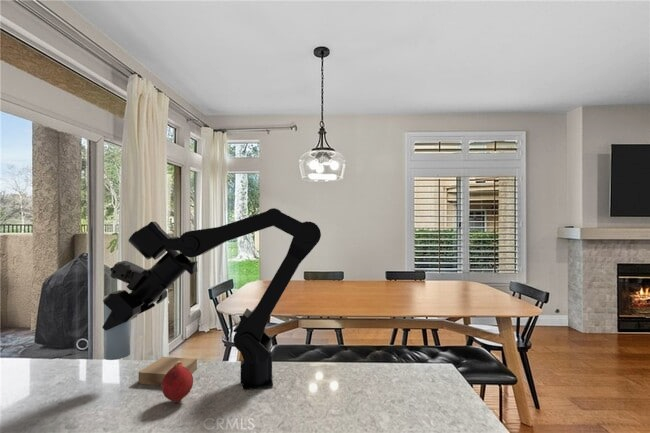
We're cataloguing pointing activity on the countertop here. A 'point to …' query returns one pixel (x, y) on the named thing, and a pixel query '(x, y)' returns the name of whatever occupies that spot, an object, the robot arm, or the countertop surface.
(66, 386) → the countertop surface
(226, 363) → the countertop surface
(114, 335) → the tumbler
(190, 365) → the block
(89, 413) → the countertop surface
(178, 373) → the onion
